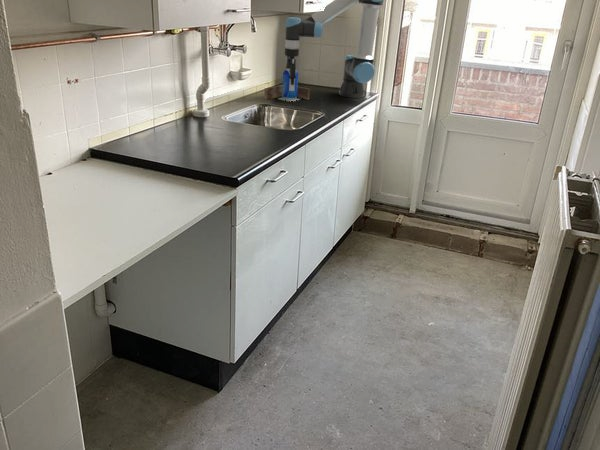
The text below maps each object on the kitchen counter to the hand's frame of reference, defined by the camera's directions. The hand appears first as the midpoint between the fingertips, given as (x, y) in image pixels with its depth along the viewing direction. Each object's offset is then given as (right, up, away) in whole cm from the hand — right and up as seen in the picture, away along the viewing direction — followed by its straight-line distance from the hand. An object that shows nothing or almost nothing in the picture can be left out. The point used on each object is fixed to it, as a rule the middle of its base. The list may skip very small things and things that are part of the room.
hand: (289, 88), depth 295 cm
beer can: (0, -6, +3) cm, 6 cm away
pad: (0, -6, +3) cm, 6 cm away
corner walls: (-1, -6, +2) cm, 6 cm away
